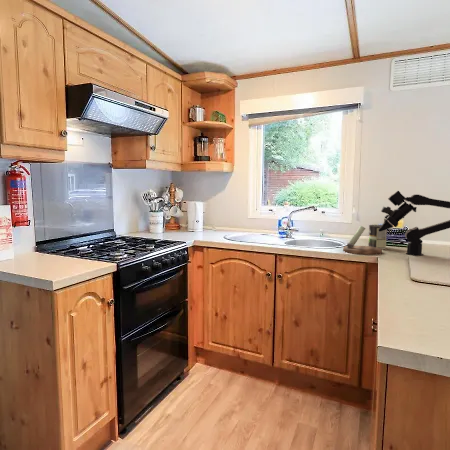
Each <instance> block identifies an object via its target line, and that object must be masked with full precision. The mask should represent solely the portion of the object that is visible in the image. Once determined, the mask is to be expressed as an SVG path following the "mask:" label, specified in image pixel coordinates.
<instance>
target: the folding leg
mask: <svg viewBox="0 0 450 450" xmlns="http://www.w3.org/2000/svg"><path fill="white" fill-rule="evenodd" d="M365 230H366V227H364V226H362V225H359V227H358V229H357V230H356V232H355V233H354V234H353V236H352V237H351V239H350V240H349V242H347V244H352V247H354V246H356V243H357V242H358V240H359V239H360V237H361V236H362V235H363V233H364V231H365Z"/></svg>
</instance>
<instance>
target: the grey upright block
mask: <svg viewBox="0 0 450 450" xmlns="http://www.w3.org/2000/svg"><path fill="white" fill-rule="evenodd" d="M381 226H382V224H368V245H367V246H370V247H377V248H381V249H382V250H385V249H386V248H387V232H388V229H386V230H383V231H381V232H380V231H379V228H380V227H381Z"/></svg>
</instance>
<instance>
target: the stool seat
mask: <svg viewBox="0 0 450 450" xmlns="http://www.w3.org/2000/svg"><path fill="white" fill-rule="evenodd" d="M342 249H343V250H342V252H344V251H345V252H344V253H346V252H348V253H347V254H351V253H352V255H362V256H375V255H377V256H378V255H381V254H382V255H383V249H381V248H377V247H370V246H368V245H354V247H352V244H348V243H347V245H345V246H343V247H342Z"/></svg>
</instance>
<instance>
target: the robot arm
mask: <svg viewBox="0 0 450 450" xmlns="http://www.w3.org/2000/svg"><path fill="white" fill-rule="evenodd" d="M387 199H388V201H389V202H391V204H393V205H394V206H395V207H396V206H398V207H397V208H396V209H392V208H391V207H390V206H384V205H383V206H382V209H381V210H380V212H381V213H384V214H386V215H385V216H384V217H383V220H384V221H383V223H382V224H381V225H382V226H381V227H380V228H379V231H380V232H381V231H383V230H386V229H387V230H389V229H392V228H397V227H398V226H399V222H400V221H402V219H404V218H405V216H407V215H408V214H410V213H411V212H414V213H416V212H417V206H432V207H438V208H439V207H440V208H445V209H450V201H449V200H442V199H434V198H430V197H427V196H424V195H421V194H413V195H411V196H404V195H403V194H402V193H401V192H400V191H399V190H397V191H396V192H395V193H393V194H391V195H390V196H389V197H388V198H387ZM407 202H409V203H407ZM448 229H450V219H448V220H445V221H442V222H439V223H436V224H432V225H429V226H425V227H423V228H419V227H418V226H415V227H412V228H409V229H408V230H406V232H405V234H404V237H405V239H406V240H408V243H407V247H406V249H407V250H406V252H405V254H406V255H410V256H424V253H422V252H423V251H422V250H423V239H422V238H423V237H425V236H427V235H431V234H435V233H437V232H440V231H444V230H448Z"/></svg>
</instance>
